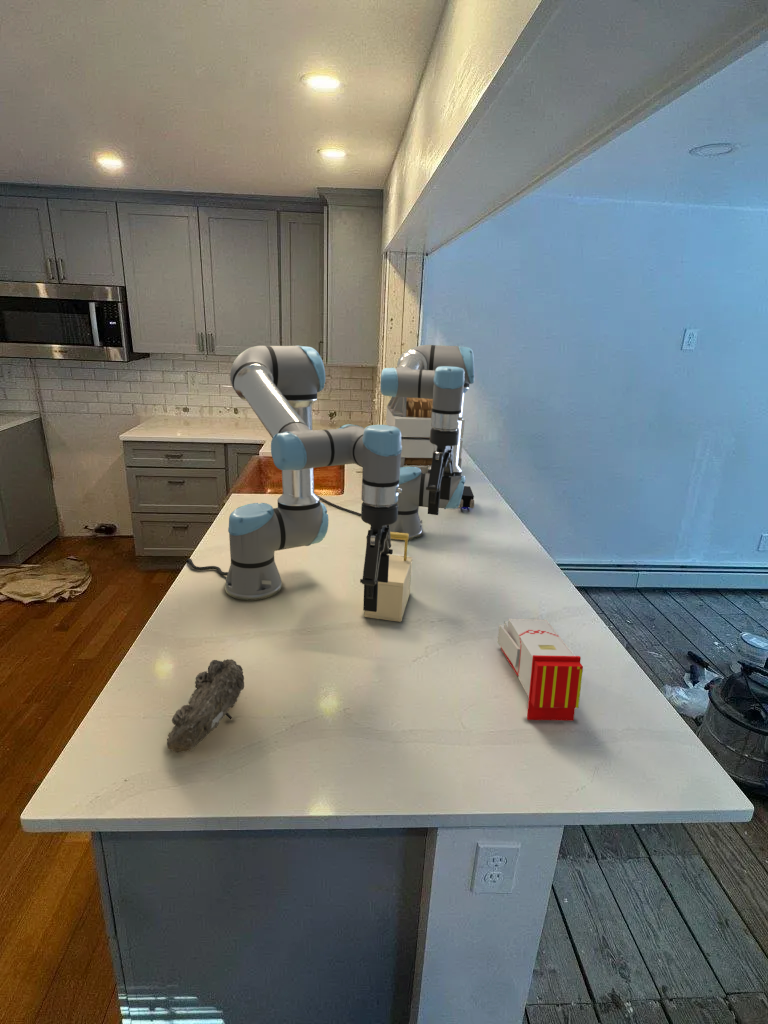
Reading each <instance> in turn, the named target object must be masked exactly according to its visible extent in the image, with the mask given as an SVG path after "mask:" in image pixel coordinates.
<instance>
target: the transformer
mask: <svg viewBox="0 0 768 1024" xmlns="http://www.w3.org/2000/svg"><path fill="white" fill-rule="evenodd" d="M432 407H433V399H425V398H410V397H392V396H391V398H390V400H389V402H388V404H387V405H386V413H385V414H386V415H385V423H386V425H388V426H394V427H397V428H398V429H399V430H400V431H401V446H402V451H401V464H400V467H405V466H406V467H417V466H418V467H430V466H431V465H432V458H433V452H434V444H432V443H431V442H430V430H431V429H432V428H433V427H431V415H432ZM464 429H465V419H464V418H463V420H462V423H461V434H460V446H459V457H458V466H459V468H460V469H461V470H462V461H463V460H462V453H463V442H464V441H463V440H462V439H463V438H464V431H465V430H464Z"/></svg>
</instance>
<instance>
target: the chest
mask: <svg viewBox="0 0 768 1024" xmlns="http://www.w3.org/2000/svg"><path fill="white" fill-rule="evenodd" d="M412 565H413V563H411V566H410V568H409V571H408V574H407V577H406V580H405V583H404V586H403V587H400V586H392V585H384V584H378V596H377V611H376V612H372V611H364V614H363V615H364V616H363V617H364V618H368V619H369V618H371V619H378V620H385V621H392V622H397V623H399V622H400V623H402V620H403V617H404V614H405V611H406V607H407V604H408V602H409V601H408V600H409V598H410V595H411V581H412V580H411V578H412Z"/></svg>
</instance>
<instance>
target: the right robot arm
mask: <svg viewBox="0 0 768 1024" xmlns="http://www.w3.org/2000/svg"><path fill="white" fill-rule="evenodd" d="M474 360H475V359H474V351H473V349H472V348H471V347H469V346H461V345H441V344H440V345H438V344H422V345H417V346H413V347H411V348H409V349H407V350H405V351H404V352H402V354H401V355H400V356H399V357H398V360H397V366H396V367H384V368H383V369H381V373H380V387H379V388H380V392H381V395H382V396H384V397H391V398H392V397H410V398H425V399H433V407H432V415H431V427H433V428H432V429H431V430H430V442H431V443H432V444H434V452H433V458H432V465H430V466H427V467H428V468H427V472H422V469H421V468H420V467H419V466H418V467H417V466H404V467H400V479H399V486H398V488H401V489H402V492H401V493H399V494H398V502H397V504H398V519H397V521H396V522H395V523H394V524H391V525H390V532H398V533H407V534H409V539H408V541H410V540H415V539H418V538H420V537H421V536H422V535H423V525H422V524H423V519H421V518H420V515H419V508H420V507H421V508H422V507H423V508H427V515H432V516H439V513H440V512H439V511H440V509H443V510H456V509H458V508H459V505H460V502H461V498H462V494H463V489H464V486H465V483H466V476H465V475H463V474H462V472H463V470H462V468H461V469H460V468H459V466H458V457H459V446H460V439H461V438H460V434H461V423H462V420H463V419H464V418H463V410H464V399H465V393H466V392H468V391H469V389H470V385H472V384H474V383H475V361H474ZM316 495H317V496H318V497H319V498H320V501H321V502H324V503H326V504H328V505H330V506H333V507H335V508H337V509H340V510H342V511H345V512H348V513H350V514H354V515H357V516H360V517H361V512H358V511H354V510H352V509H348V508H345V507H342V506H340V505H338V504H336V503H333V502H331V501H328V500H327V499H325V498H323V497H321V496H319V495H318V494H316ZM394 540H395V541H400V540H399V539H394Z"/></svg>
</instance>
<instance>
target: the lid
mask: <svg viewBox="0 0 768 1024" xmlns="http://www.w3.org/2000/svg"><path fill="white" fill-rule="evenodd" d="M390 537H391V540H395V539H399V540H398V541H404V550H403V555H397V554H387V555H389V570H388V583H385V582H378V584H384V585H392V586H400V587H403V586H404V583H405V580H406V577H407V574H408V571H409V568H410V566H411V563H412V562H413V556H412V557H411V556H408V542H409V540H408V539H409V534H407V533H398V532H390ZM412 564H413V563H412ZM411 567H412V566H411Z"/></svg>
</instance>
